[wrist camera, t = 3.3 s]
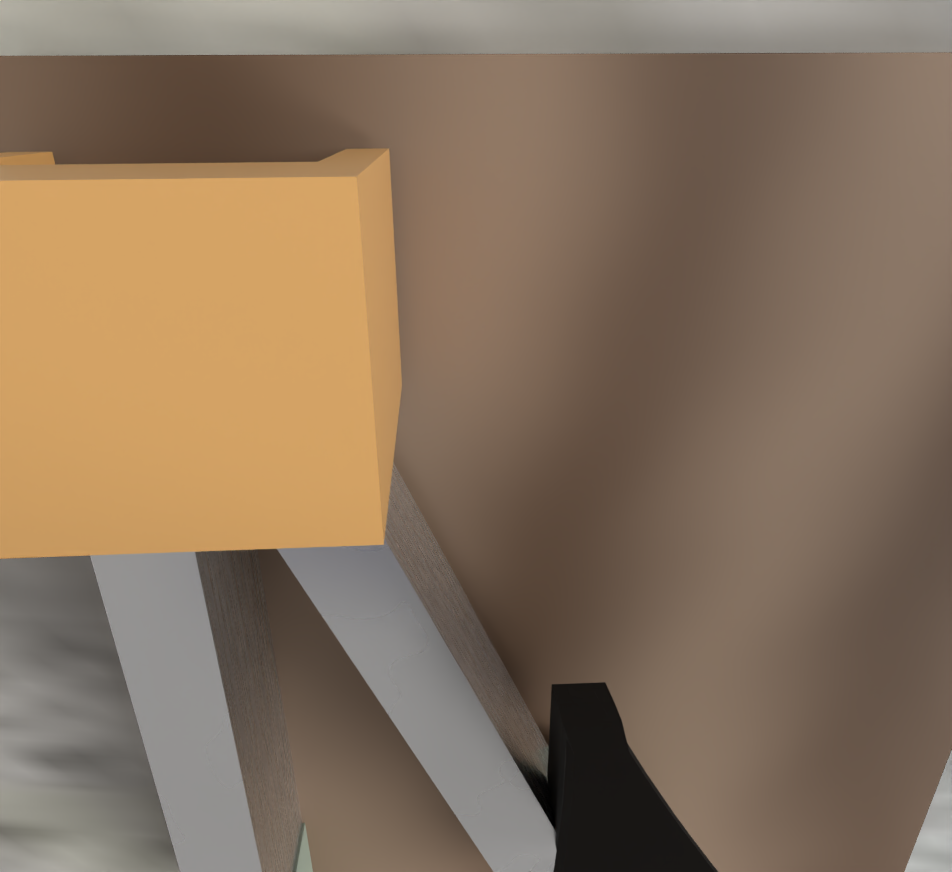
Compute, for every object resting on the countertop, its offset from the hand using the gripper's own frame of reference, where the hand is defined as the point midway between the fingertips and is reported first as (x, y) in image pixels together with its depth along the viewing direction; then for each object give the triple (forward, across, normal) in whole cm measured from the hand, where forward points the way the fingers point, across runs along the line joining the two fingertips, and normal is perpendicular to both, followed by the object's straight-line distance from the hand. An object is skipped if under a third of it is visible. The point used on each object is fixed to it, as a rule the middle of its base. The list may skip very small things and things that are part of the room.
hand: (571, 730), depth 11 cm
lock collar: (+1, +5, -7) cm, 9 cm away
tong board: (+2, 0, -2) cm, 3 cm away
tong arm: (+1, +1, 0) cm, 2 cm away
